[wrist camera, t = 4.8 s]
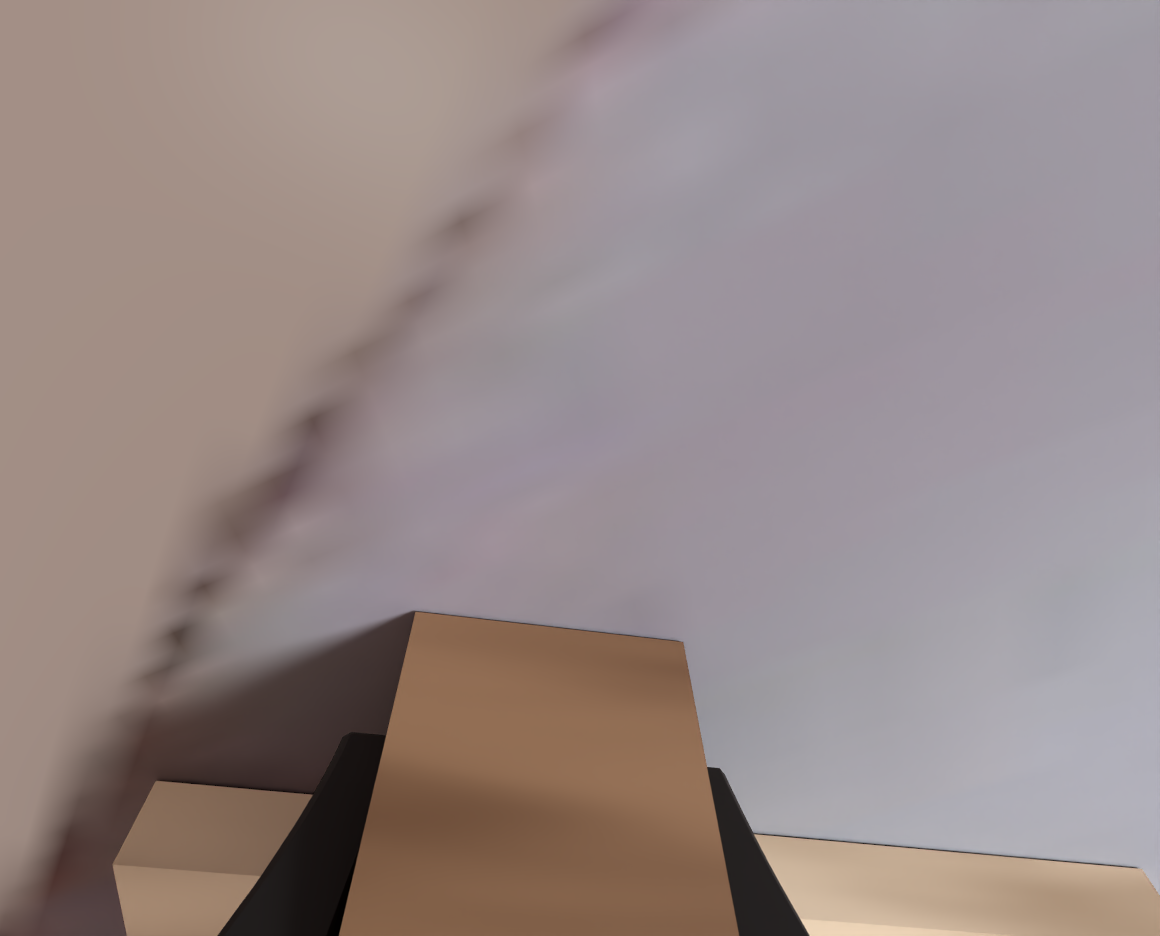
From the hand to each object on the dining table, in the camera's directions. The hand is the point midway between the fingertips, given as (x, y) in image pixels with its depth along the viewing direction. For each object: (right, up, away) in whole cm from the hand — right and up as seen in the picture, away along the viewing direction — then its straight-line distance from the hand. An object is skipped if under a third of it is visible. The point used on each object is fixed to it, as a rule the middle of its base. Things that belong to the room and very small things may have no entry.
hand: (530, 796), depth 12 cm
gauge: (-1, -2, +3) cm, 4 cm away
